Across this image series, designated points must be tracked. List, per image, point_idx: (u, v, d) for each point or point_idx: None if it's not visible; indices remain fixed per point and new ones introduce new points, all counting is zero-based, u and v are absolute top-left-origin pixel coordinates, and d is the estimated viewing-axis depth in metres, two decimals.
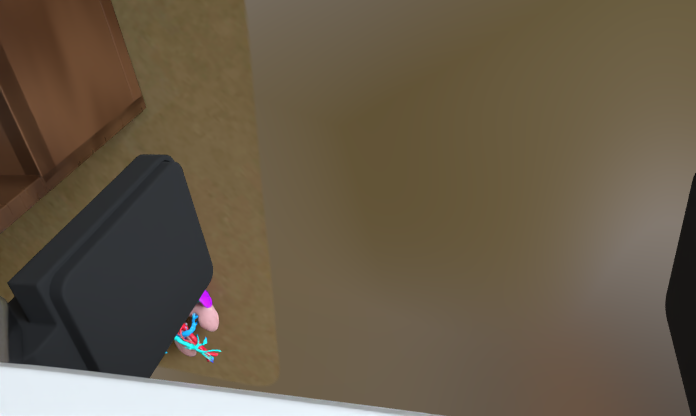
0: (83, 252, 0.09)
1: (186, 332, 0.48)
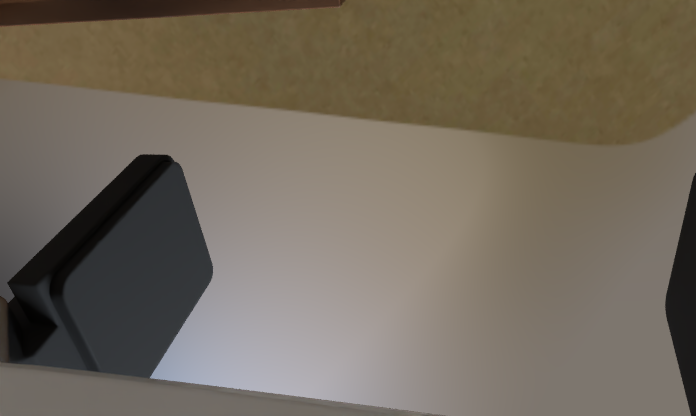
0: (83, 252, 0.09)
1: None
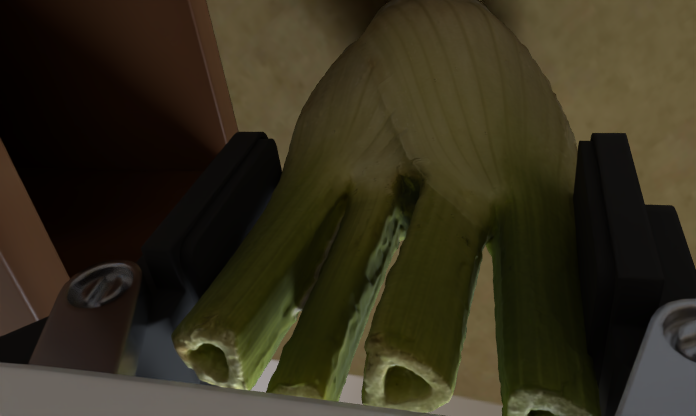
0: (205, 220, 0.10)
1: None
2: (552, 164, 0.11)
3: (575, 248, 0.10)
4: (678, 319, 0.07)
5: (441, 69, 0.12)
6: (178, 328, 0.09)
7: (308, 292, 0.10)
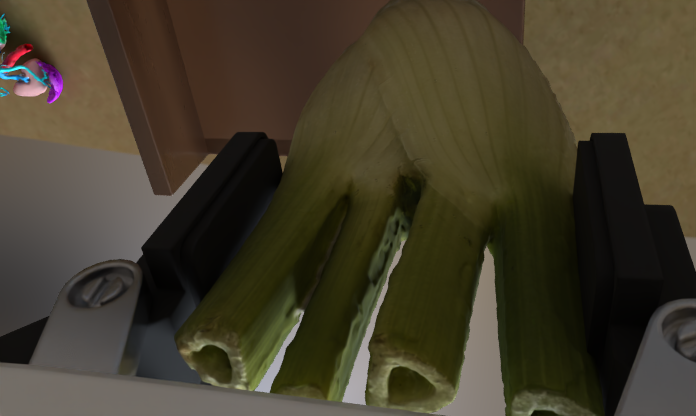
0: (205, 220, 0.10)
1: (1, 74, 0.42)
2: (553, 164, 0.11)
3: None
4: (677, 319, 0.07)
5: (441, 69, 0.12)
6: (181, 329, 0.09)
7: (310, 293, 0.10)
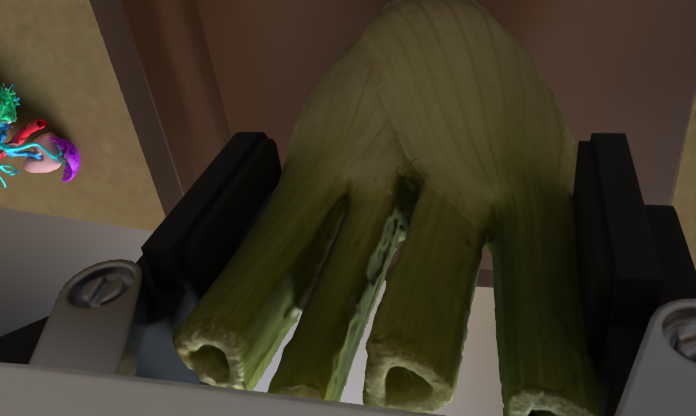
0: (205, 220, 0.10)
1: (10, 152, 0.37)
2: (552, 164, 0.11)
3: (575, 248, 0.10)
4: (677, 319, 0.07)
5: (440, 69, 0.12)
6: (179, 329, 0.09)
7: (308, 293, 0.10)
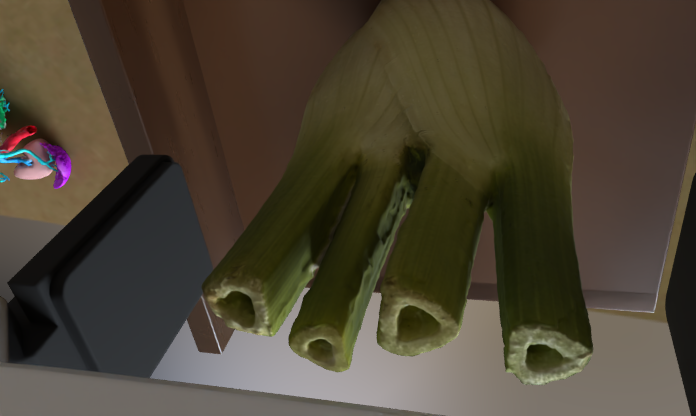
0: (83, 252, 0.09)
1: (0, 159, 0.36)
2: (548, 137, 0.12)
3: (569, 210, 0.11)
4: None
5: (443, 50, 0.13)
6: (208, 278, 0.09)
7: (324, 251, 0.11)
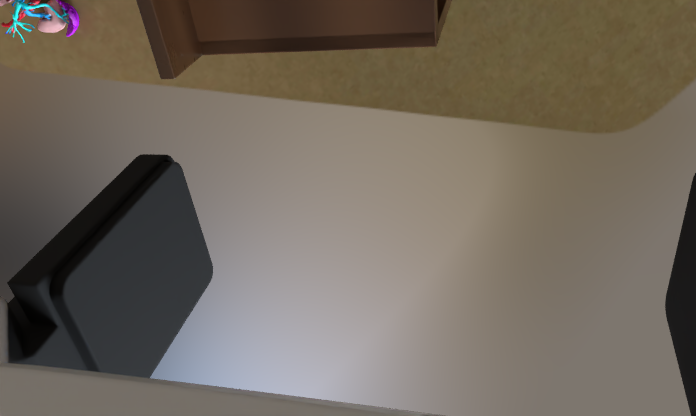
0: (83, 252, 0.09)
1: (28, 12, 0.51)
2: None
3: None
4: None
5: None
6: None
7: None
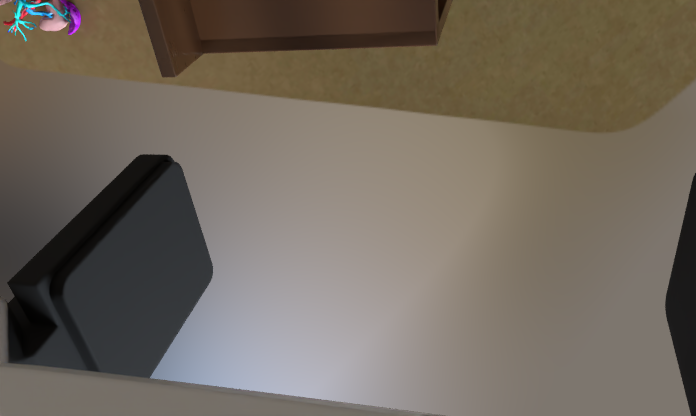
0: (83, 252, 0.09)
1: (30, 10, 0.51)
2: None
3: None
4: None
5: None
6: None
7: None
